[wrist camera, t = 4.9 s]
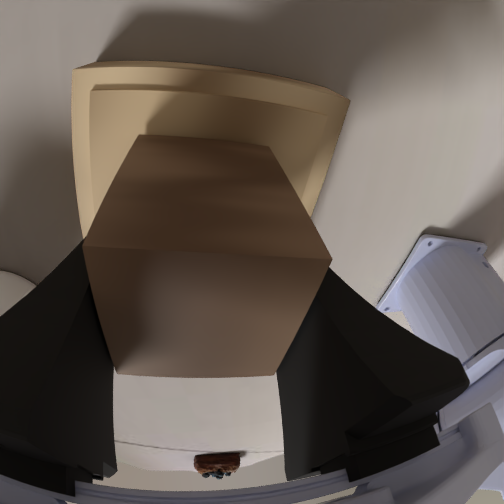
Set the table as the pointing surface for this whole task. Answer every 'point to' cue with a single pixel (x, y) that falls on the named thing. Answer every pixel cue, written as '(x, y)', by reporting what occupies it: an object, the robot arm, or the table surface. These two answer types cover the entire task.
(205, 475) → the pastry
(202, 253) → the walnut block
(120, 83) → the oak base
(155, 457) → the table surface
